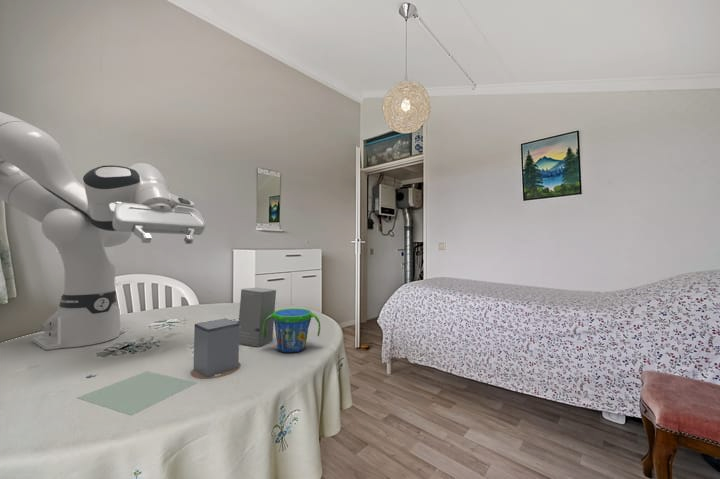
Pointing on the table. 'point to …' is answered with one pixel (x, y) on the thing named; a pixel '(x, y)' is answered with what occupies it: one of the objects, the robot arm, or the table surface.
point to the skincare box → (256, 316)
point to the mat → (137, 392)
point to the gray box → (216, 347)
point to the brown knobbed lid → (199, 376)
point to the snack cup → (291, 328)
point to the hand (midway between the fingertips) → (169, 241)
